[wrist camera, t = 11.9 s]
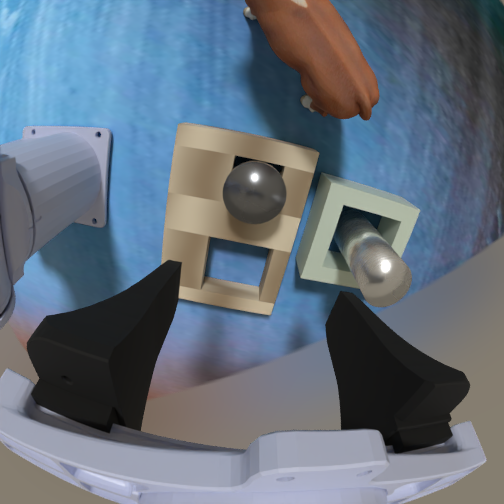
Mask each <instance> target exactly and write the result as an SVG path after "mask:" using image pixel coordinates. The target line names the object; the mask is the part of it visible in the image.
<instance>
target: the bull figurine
mask: <svg viewBox="0 0 504 504" xmlns="http://www.w3.org/2000/svg"><path fill="white" fill-rule="evenodd" d="M245 2H246V4H247V5H248V7H246V8H245V9H244V11H243V13H244V15H245V16H246V17H248V18H250V19H251V20H254V19H257V20H258V22H259V24H260V26H261V28H262V30H263V32H264V34H265V36H266V38H267V40H268V42H269V45H270V47H271V48H272V50H273V51H274V53H275V54H276V55H277V56H278V57H279V58H280V59H281V60H282V61H283V62H284V63H286V64H287V65H288V66H290V67H291V68H293V69H295V70H296V71H298V72H299V73H300V75H301V84H302V87H303V89H304V91H305V92H306V93H307V94H305V95H304V96H302V97H301V99H300V101H301V104H302V105H303V106H304V107H305V108H309V110H310V111H311V112H315V111H316V112H318V113H320V114H321V115H322V116H323V117H326V116H327V114H330V115H331V116H333V117H335V118H338V119H348V118H352V117H354V116H356V115H358V114H359V115H360V117H361V118H362V119H363V120H369V119H370V117H371V111H372V107H373V106H374V105H376V104H377V103H378V100H379V89H378V84H377V79H376V76H375V74H374V72H373V71H372V69H371V68H370V66H369V65H368V63H367V61H366V59H365V58H364V56H363V54H362V52H361V50H360V47H359V46H358V44H357V42H356V40H355V38H354V37H353V35H352V33H351V32H350V30H349V28H348V26H347V25H346V23H345V22H344V20H343V19H342V18H341V16H340V15H339V13H338V12H337V10H336V9H335V8H334V6H333V5H332V4H331V2H330V1H329V0H245Z"/></svg>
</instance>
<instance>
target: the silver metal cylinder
mask: <svg viewBox="0 0 504 504" xmlns="http://www.w3.org/2000/svg"><path fill="white" fill-rule="evenodd" d="M333 238H334V240H335V242H336V244H337V246H338V248H339V249H340V251H341V253H342V255H343V257H344V259H345V261H346V262H347V264H348V266H349V268H350V270H351V272H352V274H353V276H354V278H355V280H356V282H357V284H358V286H359V288H360V290H361V292H362V294H363V296H364V298H365V300H366V301H367V302H368V303H369V304H370V305H372V306H375V307H386V306H390V305H392V304H394V303H396V302H398V301H399V300H400V299H401V298H402V297H403V296H404V295H405V294H406V293H407V291H408V290H409V288H410V285H411V281H412V275H411V271H410V269H409V267H408V266H407V265H406V264H405V263H404V261H403V260H402V259H401V258H400V257H399V255H398V254H397V253H396V252H395V251H394V249H393V248H392V247H391V246H390V245H389V244H388V242H387V241H386V240H385V239H384V238H383V237H382V235H381V234H380V233H379V232H378V231H377V230H376V229H375V228H374V226H373V225H372V224H371V223H370V222H369V221H368V220H367V219H366V218H365V217H364V215H363V214H362V213H360V212H359V211H356V210H346V211H343V212H341V214H340V217H339V220H338V223H337V226H336V229H335V232H334V235H333Z"/></svg>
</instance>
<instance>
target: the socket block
mask: <svg viewBox="0 0 504 504" xmlns="http://www.w3.org/2000/svg"><path fill="white" fill-rule="evenodd" d="M236 156H241V157H246V158H251V159H255V160H260V161H265V162H269V163H274V164H278V165H281V169H280V174H281V176H282V178H283V180H284V183H285V186H286V192H287V195H286V202H285V205H284V207H283V209H282V210H281V212H280V213H279V214H278V215H277V216H276V217H275V218H273V219H272V220H270V221H268V222H265V223H261V224H248V223H244V222H242V221H239V220H238V219H236V218H235V217H233V216H232V215H231V214H230V213H229V211H228V210H227V208H226V206H225V204H224V201H223V186H224V183H225V181H226V178H227V176H228V175H229V173H230V172H231V171H232V170H233V168H234V163H235V158H236ZM318 157H319V152H318V151H316V150H315V149H313V148H309V147H305V146H301V145H297V144H293V143H289V142H285V141H281V140H277V139H273V138H268V137H264V136H259V135H254V134H250V133H245V132H240V131H234V130H229V129H224V128H218V127H212V126H206V125H200V124H193V123H186V122H185V123H180V124H178V128H177V134H176V140H175V146H174V153H173V159H172V166H171V173H170V181H169V189H168V197H167V206H166V216H165V226H164V237H163V249H162V263H161V265H162V264H163V263H164V262H166V261H167V260H173V261H178V262H182V267H181V277H180V288H179V298H181V299H186V300H191V301H195V302H200V303H205V304H210V305H215V306H221V307H226V308H231V309H237V310H242V311H248V312H254V313H260V314H265V315H271V312H272V309H273V306H274V303H275V300H276V297H277V294H278V291H279V288H280V285H281V281H282V278H283V275H284V272H285V269H286V266H287V262H288V259H289V256H290V253H291V250H292V246H293V243H294V240H295V236H296V233H297V230H298V226H299V223H300V220H301V216H302V213H303V210H304V206H305V203H306V199H307V196H308V192H309V189H310V185H311V182H312V178H313V175H314V171H315V168H316V164H317V160H318ZM211 237H215V238H221V239H226V240H231V241H236V242H241V243H246V244H251V245H256V246H261V247H266V248H270V249H269V252H268V256H267V260H266V263H265V267H264V271H263V274H262V278H261V281H260V285H259V287H258V286H252V285H247V284H242V283H236V282H231V281H226V280H221V279H216V278H211V277H206V276H204V275H205V268H206V262H207V256H208V250H209V244H210V238H211Z"/></svg>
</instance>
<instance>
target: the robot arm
mask: <svg viewBox="0 0 504 504" xmlns="http://www.w3.org/2000/svg"><path fill="white" fill-rule="evenodd" d="M34 130H35V133H34ZM98 132H100V133H101V137H98ZM111 136H112V135H111V131H110V130H109V129H107V128H95V127H74V126H27V127H25V128H24V129H23V139H19V140H16V141H12V142H9V143H6V144H2V145H0V329H1V328H2V327H4V325H5V324H6V323H7V322H8V320H9V319H10V317H11V315H12V313H13V310H14V307H15V291H14V287H13V285H14V284H15V283H16V282H17V281H18V280H19V279H20V278H21V277H22V276H23V275H24V270H23V269H24V264H25V262H26V261H27V260H28V259H29V258H30V257H31V256H32V255H33V254H35V253H36V252H37V251H38V250H39V249H40V248H42V247H43V246H44V245H45V244H46V243H48V242H49V241H50V240H51V239H52V238H54V237H55V236H56V235H57V234H59V233H60V232H61V231H62V230H64V229H65V228H66V227H68V226H69V225H70V224H71V223H73V222H75V223H79V224H84V225H89V226H94V227H99V228H102V227H104V226H105V225H106V222H107V185H108V168H109V156H110V145H111ZM94 218H95V219H96V220H97V222H95V221H94ZM181 267H182V262H178V261H173V260H167V261H166V262H164V263H163V264H162V265H160V266H159V267H158V268H157V269H155V270H154V271H153V272H151V273H150V274H149V275H147V276H146V277H145V278H143V279H142V280H140V281H139V282H137V283H136V284H134V285H133V286H131V287H130V288H128V289H126V290H125V291H123V292H121V293H119V294H117V295H115V296H113V297H111V298H109V299H107V300H104V301H101V302H99V303H96V304H94V305H91V306H88V307H85V308H82V309H78V310H75V311H70V312H66V313H60V314H55V315H49V316H46V317H45V318H44V319H43V321H42V322H41V323H40V325H39V326H38V327H37V329H36V330H35V332H34V333H33V334H32V336H31V337H30V339H29V340H28V342H27V351H28V354H29V357H30V359H31V361H32V364H33V366H34V368H35V370H36V372H37V374H38V376H39V380H38V382H37V384H36V385H35V384H34V383H33V382H32V381H31V380H29V379H27V378H26V377H24V376H22V375H20V374H18V373H16V372H14V371H12V370H10V369H6V370H5V372H4V374H3V375H2V377H1V378H0V441H1V442H2V443H3V444H4V445H5V446H6V447H7V448H8V449H10V450H11V451H13V452H14V453H16V454H18V455H19V456H21V457H23V458H24V459H26V460H28V461H30V462H31V463H33V464H35V465H36V466H38V467H40V468H42V469H44V470H46V471H47V472H49V473H51V474H53V475H55V476H57V477H59V478H61V479H63V480H65V481H67V482H69V483H71V484H73V485H75V486H77V487H80V488H82V489H84V490H86V491H89V492H91V493H94V494H96V495H98V496H101V497H103V498H106V499H109V500H111V501H114V502H117V503H120V504H403V503H406V502H409V501H412V500H414V499H417V498H420V497H422V496H425V495H428V494H430V493H433V492H435V491H438V490H440V489H443V488H445V487H447V486H450V485H452V484H454V483H455V482H457V481H458V480H460V479H461V478H463V477H464V476H466V475H467V474H469V473H471V472H472V471H474V470H475V469H476V468H478V467H479V466H481V465H482V464H483V463H485V462H486V457H485V455H484V452H483V449H482V447H481V444H480V442H479V440H478V437H477V435H476V433H475V430H474V428H473V426H472V424H471V422H470V421H467V422H463V423H460V424H456V425H454V426H452V427H450V426H449V424H448V422H450V421H451V416H450V414H449V413H450V412H451V411H452V410H453V409H454V408H455V407H456V406H457V405H458V404H459V403H460V402H461V401H462V400H463V399H464V398H465V396H466V395H467V393H468V391H469V388H470V383H469V381H468V380H467V378H466V376H465V374H464V373H463V372H461V371H459V370H456V369H454V368H452V367H449V366H447V365H444V364H442V363H440V362H438V361H437V360H434V359H433V358H431V357H429V356H427V355H426V354H424V353H422V352H421V351H419V350H418V349H416V348H415V347H413V346H412V345H410V344H409V343H408V342H406V341H405V340H404V339H402V338H401V337H400V336H399V335H397V334H396V333H395V332H394V331H393V330H391V329H390V328H389V327H388V326H387V325H386V324H385V323H384V322H383V321H381V319H380V318H379V317H377V316H376V315H375V314H374V313H373V312H372V311H371V310H370V309H369V308H368V307H367V306H366V305H365V304H364V303H363V302H362V301H361V300H360V299H359V298H358V297H356V296H355V295H354V294H353V293H349V292H343V291H340V293H339V296H338V298H337V300H336V302H335V305H334V307H333V309H332V311H331V313H330V315H329V318H328V320H327V322H326V324H325V326H326V337H327V344H328V348H329V352H330V356H331V360H332V364H333V368H334V372H335V376H336V379H337V384H338V391H339V400H340V413H341V430H287V431H286V430H285V431H275V432H272V433H268V434H264V435H261V436H260V437H259V438H257V439H256V440H255V441H254V442H252V443H251V444H250V445H249V447H248V449H247V450H243V449H233V448H225V447H217V446H209V445H203V444H197V443H191V442H186V441H180V440H176V439H171V438H166V437H161V436H157V435H153V434H149V433H145V432H141V425H142V420H143V415H144V410H145V405H146V400H147V396H148V391H149V387H150V383H151V379H152V375H153V371H154V367H155V364H156V361H157V358H158V355H159V353H160V350H161V348H162V345H163V343H164V340H165V338H166V335H167V333H168V330H169V328H170V325H171V323H172V321H173V318H174V314H175V311H176V307H177V303H178V299H179V288H180V277H181Z"/></svg>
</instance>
